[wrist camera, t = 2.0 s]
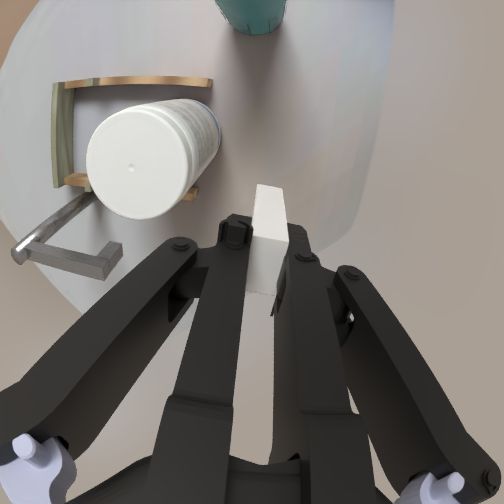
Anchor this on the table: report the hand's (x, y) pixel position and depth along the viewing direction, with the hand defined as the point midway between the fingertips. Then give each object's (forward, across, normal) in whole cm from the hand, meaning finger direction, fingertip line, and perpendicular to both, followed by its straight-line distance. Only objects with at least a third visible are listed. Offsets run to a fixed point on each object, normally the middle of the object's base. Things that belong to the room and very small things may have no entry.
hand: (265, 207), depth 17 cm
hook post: (+18, -18, -9) cm, 27 cm away
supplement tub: (+18, -10, 0) cm, 21 cm away
